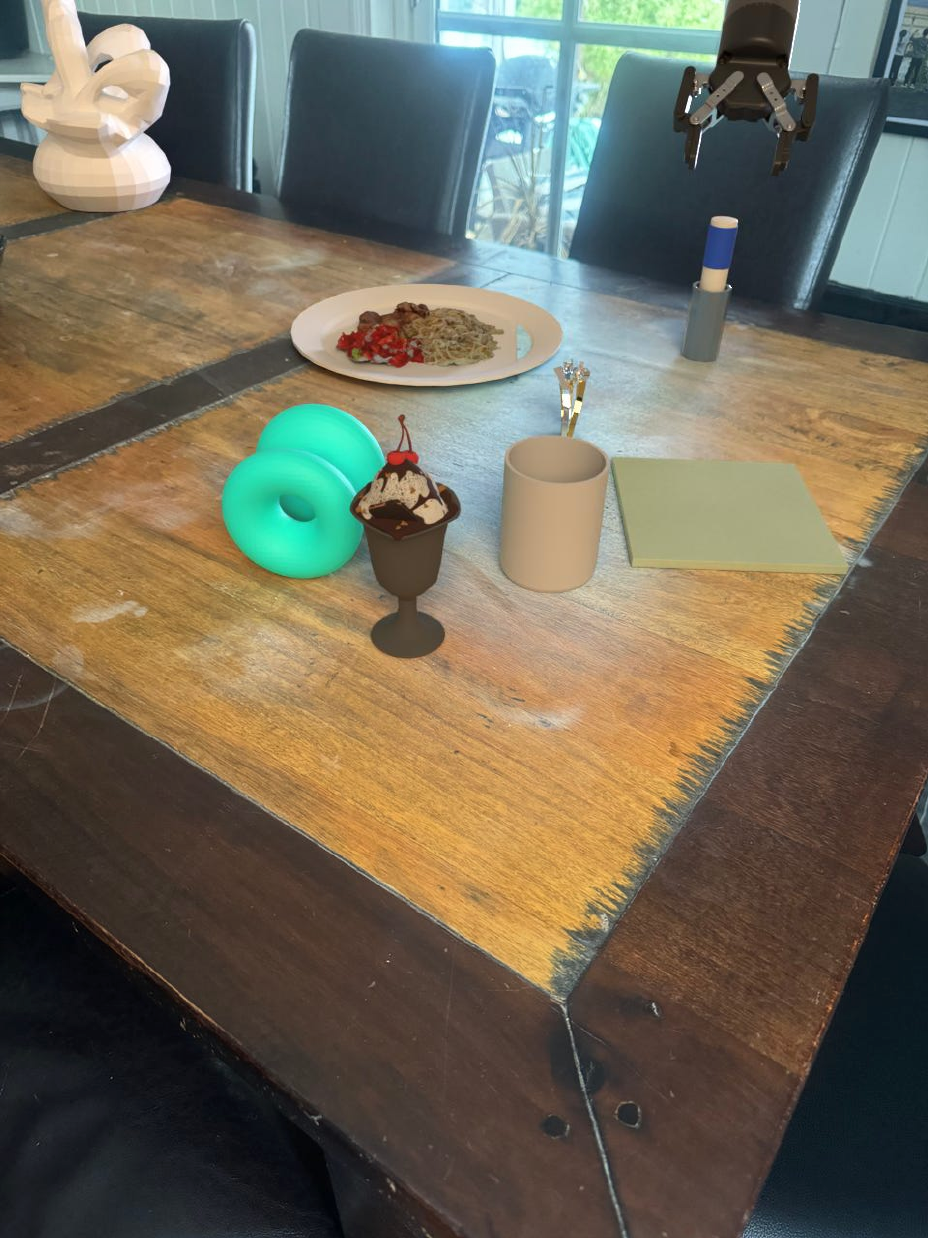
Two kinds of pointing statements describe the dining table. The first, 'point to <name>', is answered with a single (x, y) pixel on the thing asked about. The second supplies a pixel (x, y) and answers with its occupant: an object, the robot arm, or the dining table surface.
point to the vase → (98, 116)
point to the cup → (552, 512)
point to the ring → (570, 393)
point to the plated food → (425, 334)
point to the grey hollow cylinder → (705, 323)
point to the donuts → (302, 491)
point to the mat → (722, 517)
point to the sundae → (406, 546)
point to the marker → (718, 253)
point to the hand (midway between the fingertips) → (733, 168)
